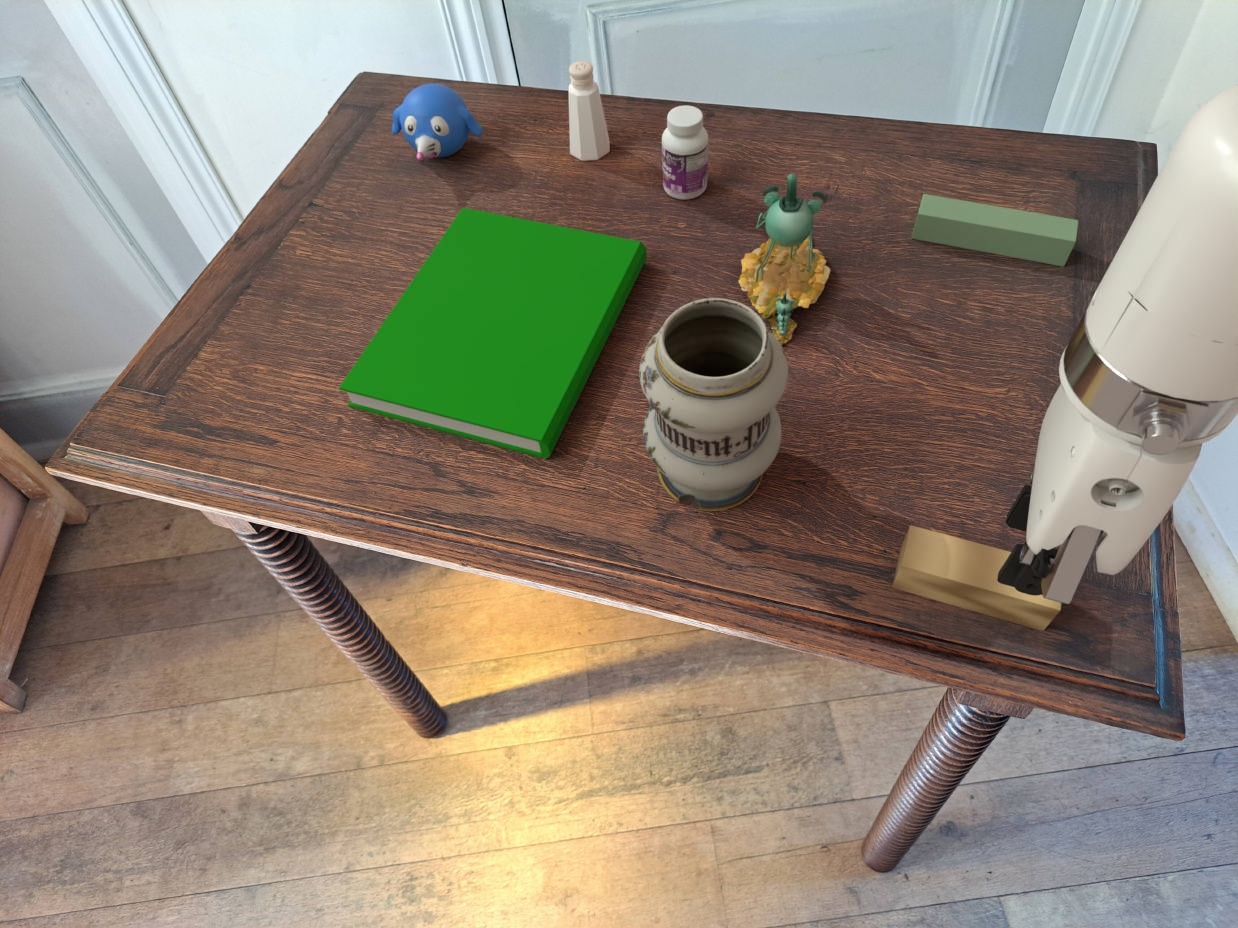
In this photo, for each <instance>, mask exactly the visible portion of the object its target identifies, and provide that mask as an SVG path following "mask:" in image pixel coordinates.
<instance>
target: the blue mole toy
mask: <svg viewBox="0 0 1238 928" xmlns="http://www.w3.org/2000/svg"><path fill="white" fill-rule="evenodd" d="M390 129H391V132H392V134H393V135H396V136H397V135H398V134H400V132H401V131H402V133H403V136H404V138H405V140H406V141H407V143H408V144H409V145H410V147H412V149H413V150H415V151H416V152H417V153H416V160H418V161H419V162H420V161H423V160H424V158H428V159H435V158H436V159H437V158H438V159H439V158H440V159H441V158H445V157H449V156H452V155H454V154H455V153H457V152H459V150H461V149H462V148H463V146H464V145H465V144H466V142H467V140H468V137H469V135H470V133H471V134H472V135H473V136H475V137H481V136H482V135H483V132H484V129H483V127H482V126H481V124H480V123H479V122H478V121H477V120H476V119H475V118H474V116H473V114H472V113H471V112H470V110H469V109H468V107H467V105H466V102H465V101H464V99H463V98H462V96H460V94H459V93H457V91H455V90H454V89H452V88H451V87H450V86H447V85H444V84H441V83H425V84H422V85H418V86H417V87H414V88H413V89H412V90H411V91H410V92H409V93H408V94H407V95H406V96H405V98H404V100H403V102H402V103H401V105H399V106H397V107H396V108H395V109H394V110H393V112H392V125H391V128H390Z"/></svg>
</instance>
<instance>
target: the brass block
mask: <svg viewBox="0 0 1238 928" xmlns="http://www.w3.org/2000/svg"><path fill="white" fill-rule="evenodd" d="M1011 552H1012V551H1009V550H1005V549H1001V548H999V547H994V546H990V545H987V544H984V543H979V542H975V541H972V540H968V539H964V538H960V537H957V536H953V535H950V534H946V533H942V532H938V531H934V530H932V529H927V528H923V527H920V526H916V525H912V524H910V525H909V527H908V528H907V531H906V534H905V537H904V539H903V541H902V544H901V545H900V548H899V553H898V557H897V562H896V567H895V571H894V576H893V580H892V583H891V584H892V585H891V588H892V589H894V590H898V591H903V592H905V593H909V594H913V595H916V596H920V597H922V598H923V597H924V598H926V599H930V600H934V601H937V602H941V603H944V604H947V605H951V606H955V607H958V608H960V609H961V608H962V609H964V610H968V611H972V612H975V613H977V614H978V613H979V614H982V615H985V616H989V617H992V618H995V619H1000V620H1003V621H1006V622H1010V623H1012V624H1013V623H1014V624H1017V625H1021V626H1024V627H1027V628H1031V629H1034V630H1038V631H1041V632H1044V631H1045V629H1046V628H1047V627H1048V626H1049V625H1050V624H1051V623H1052V621H1054V619H1055V618H1056V617H1057V616H1058V615H1059V613H1060V612H1061V610H1062V603H1061V602H1057V601H1053V600H1050V599H1046V598H1043V595H1036V596H1035V595H1029V594H1025V593H1022V592H1019V591H1017V590H1016V589H1015V587H1012V586H1008V585H1004V584H1001V583H999V582H998V581H997V578H998V572H999V571H1000V569H1001V568H1002V566H1003V564H1004V563H1005V561H1006V560H1007V558H1008V557H1009V555H1010V554H1011Z"/></svg>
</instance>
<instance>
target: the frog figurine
mask: <svg viewBox="0 0 1238 928" xmlns="http://www.w3.org/2000/svg"><path fill="white" fill-rule="evenodd" d="M797 188H798V175H796V174H795V173H789V174H787V179H786V194H785V195H782V196H780V194H779V193H778V192H779V187H778V186H775V185H770V186H768V187H766V188H764V190H763V191H762V196H765V197H764V200H763V202H764V204H765V206H767V207H769V208H768V209H767V210H766V212H765V213H763V212H760V213H759V215H758V218H757V219H758V220H757V222H756V223H757V224H756V226H755V229H759V227H761V226H762V225H763V224H765V231H766V234H767V236H768V237H769V238H768V240H767V241H766V242H762V243H761V244H760V246H759V247H758V248H757V247H756V248H755V249H754V250H752V252H747V253H745V254H744V257H743V258H742V259H741V260H740V263H741V264H740V265H741V267H742V268H741V273H740V275H739V279H738V284H739V286H740V288H741V291H743V292H746V293H747V294H745V296H746V297H747V298H748V299H749V301H750V303H751V306H752V307H754V309H755V310H756V311H757V312H758V313H759V315H760V314H761V318H762V319H767V321H768V322H770V324H769V325H770V327H771V330H772V333H773V334H774V336H775V337H776V338H777V339H778V341H779V342H780V344H781V346H783V345H784V344H787V343H788V342H790V340H792V339H793V333H794V330H795V329H796V328H797V327H798V323H797V322H796V321H795V319H792V318H791V315H792V314H793V312H794V309H797V308H798V307H800V308H801V307H802V308H804V309H809V307H810V305H813V304H815V303H816V302H817V301H818V299H819V297H820V295H821V294H822V292H823V291H824V289H825V286H826V285H825V284H826V283H827V281H828V279H829V277H830V273H831V268H830V267H829V266H827V265H826V263H827V260H826V259H825V258H826V257H825V255H823V252H822V251H820V250H819V249H818V248H813V227H814V215H816V214H818V213H819V212H820V210H821V208H822V207H821V206H822V202H821V201H819V200H818V199H811V200H809V201H808V202H806V201H805V200H804V199H803V198H801V196H798V195H797V192H798V191H797V190H798V189H797ZM779 196H780V197H779ZM811 196H812V197H813V198H815V197H816V198H817V197H818V198H820V199H821V200H822V201H823V202H824V204H826V203H827V201H828V198H827V197H826V195H825V194H824V193H823V192H822V191H819V190H817V191H816V190H815V191H813V192H812V195H811ZM762 219H764V220H762ZM761 220H762V221H761ZM776 314H777V315H776ZM771 316H772V317H771ZM770 317H771V318H770Z"/></svg>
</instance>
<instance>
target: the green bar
mask: <svg viewBox="0 0 1238 928" xmlns="http://www.w3.org/2000/svg"><path fill="white" fill-rule="evenodd" d="M1078 229H1079V220H1078V219H1075V218H1069V217H1063V216H1057V215H1051V214H1045V213H1039V212H1033V211H1027V210H1023V209H1022V210H1021V209H1015V208H1009V207H1004V206H998V205H992V204H987V203H981V202H974V201H970V200H969V201H968V200H963V199H957V198H951V197H945V196H939V195H935V194H927V193H923V194H922V198H921V201H920V205H919V208H918V211H917V215H916V219H915V223H914V226H913V231H912V233H911V237H910V238H911V239H912V240H916V241H923V242H928V243H933V244H938V245H944V246H949V247H954V248H961V249H965V250H971V251H977V252H982V253H987V254H988V253H989V254H993V255H998V256H1004V257H1009V258H1015V259H1019V260H1025V261H1030V262H1037V263H1040V264H1041V263H1042V264H1047V265H1051V266H1052V265H1053V266H1058V267H1065V265H1066V264H1067V262H1068V259H1069V257H1070V255H1071V253H1072V251H1073V250H1074V247H1075V245H1076V243H1077V235H1078Z"/></svg>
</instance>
